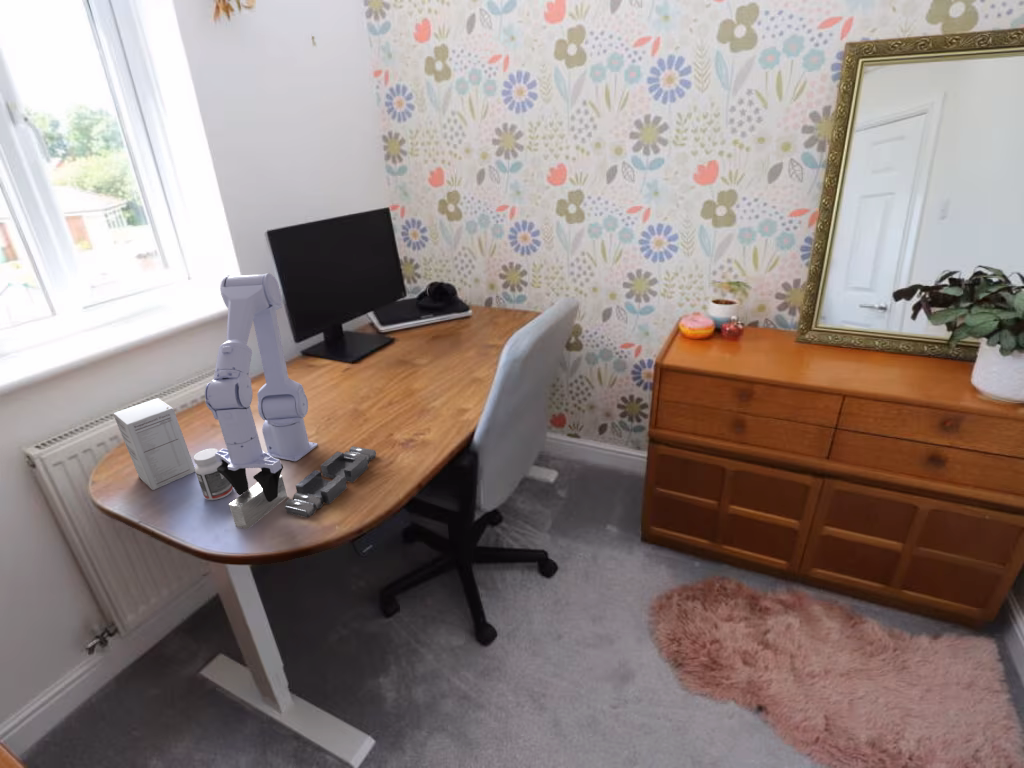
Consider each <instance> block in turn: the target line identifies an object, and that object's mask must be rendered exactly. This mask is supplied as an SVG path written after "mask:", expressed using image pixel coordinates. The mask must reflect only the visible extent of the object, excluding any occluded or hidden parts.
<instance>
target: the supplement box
mask: <svg viewBox="0 0 1024 768" xmlns="http://www.w3.org/2000/svg"><path fill="white" fill-rule="evenodd" d="M112 415H113V418H114V420H115V422H116V425H117V427H118V430H119V432H120V435H121V437H122V439H123V441H124V444H125V447H126V450H127V452H128V454H129V456H130V458H131V461H132V463H133V466H134V468H135V470H136V474H137V475H138V477H139V479H140V480H142V482H143V483H144V484H145V485H147V486H148V488H150V489H151V490H152V491H155V490H157V489H160V488H161V487H164V486H166V485H168V484H170V483H173V482H175V481H177V480H179V479H182V478H184V477H186V476H188V475H191V474H193V473H196V472H195V467H196V466H195V465H194V461H193V459H192V456H191V454H190V451H189V448H188V446H187V443H186V440H185V437H184V435H183V432H182V429H181V427H180V423H179V421H178V418H177V415H176V413H175V409H174V408H173V407H172V406H171V405H169V404H168V403H166V402H165V401H163V400H161V398H159V397H157V398H154V399H151V400H148V401H147V400H146V401H145V402H142V403H139V404H136V405H133V406H130V407H127V408H124V409H121V410H118V411H116V412H113V413H112Z"/></svg>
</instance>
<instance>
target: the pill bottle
mask: <svg viewBox="0 0 1024 768" xmlns="http://www.w3.org/2000/svg"><path fill="white" fill-rule="evenodd" d="M218 451H219V450H218V449H217V448H214V447H213V448H206V449H203V450H200V451H198V452H196V453H195V454H194V456H193V462H194V463H195V464H196V465H195V466H194V467H195V472H194V473H195V475H196V478H197V480H198V484H199V486H200V489H201V493H202V495H203V498H204V499H206V500H208V501H216V500H221V499H223V498H225V497H227V496H228V495H230V494H231V493H232V492H233V489H234V488H233V486H232V485H231V484H230V482H229V481H228V480H227V479H226V478H225V477H224V476H223V475H222V474H221V473H219V472H218V471H217V468H218V467H219V466H220V465H222V464H221V463H222V462H217V459H216V456H215V453H216V452H218Z"/></svg>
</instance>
